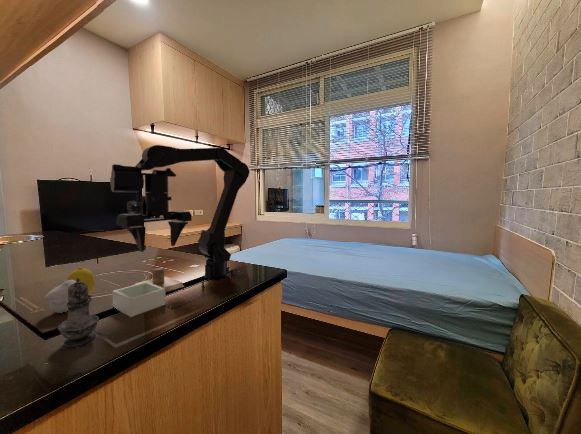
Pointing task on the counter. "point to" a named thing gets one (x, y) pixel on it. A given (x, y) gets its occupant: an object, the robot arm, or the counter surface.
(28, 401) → the counter surface
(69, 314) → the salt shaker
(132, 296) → the dish
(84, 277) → the lemon
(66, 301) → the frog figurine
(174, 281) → the lid
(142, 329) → the counter surface
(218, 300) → the counter surface
